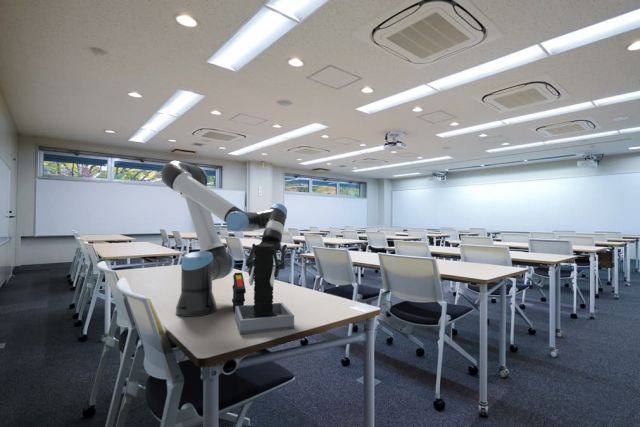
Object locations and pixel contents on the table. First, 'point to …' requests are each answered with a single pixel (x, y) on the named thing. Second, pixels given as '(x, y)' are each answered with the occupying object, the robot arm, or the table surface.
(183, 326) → the table surface
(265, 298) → the handle grip
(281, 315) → the tray
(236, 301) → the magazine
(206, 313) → the robot arm
